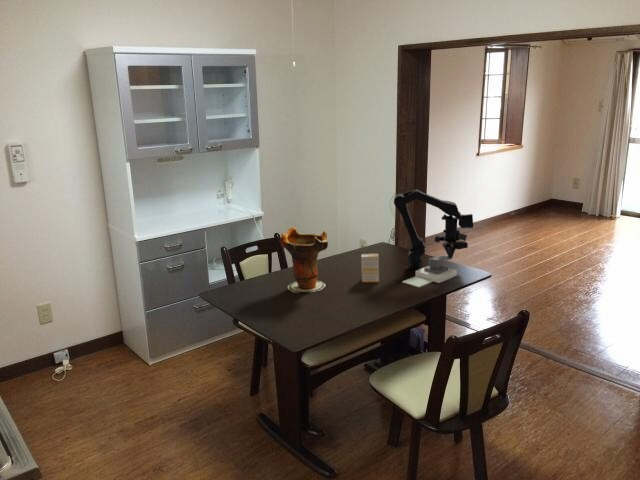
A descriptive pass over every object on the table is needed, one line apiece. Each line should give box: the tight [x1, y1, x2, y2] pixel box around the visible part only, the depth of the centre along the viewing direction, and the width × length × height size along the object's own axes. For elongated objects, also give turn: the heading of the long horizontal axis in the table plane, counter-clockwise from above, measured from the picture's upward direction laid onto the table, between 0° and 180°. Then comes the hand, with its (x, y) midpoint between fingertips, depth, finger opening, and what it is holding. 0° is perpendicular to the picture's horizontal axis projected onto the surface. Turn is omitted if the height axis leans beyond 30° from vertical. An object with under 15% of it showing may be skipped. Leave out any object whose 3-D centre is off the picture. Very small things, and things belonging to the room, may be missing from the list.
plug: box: [423, 256, 449, 274], centre depth 261 cm, size 8×8×9 cm
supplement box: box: [360, 253, 380, 283], centre depth 258 cm, size 8×5×13 cm, turn 84°
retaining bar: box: [427, 254, 452, 266], centre depth 269 cm, size 13×2×4 cm, turn 112°
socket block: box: [414, 265, 458, 284], centre depth 262 cm, size 14×14×3 cm
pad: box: [401, 276, 434, 289], centre depth 255 cm, size 10×10×1 cm
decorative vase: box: [279, 226, 329, 294], centre depth 253 cm, size 21×23×28 cm
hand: (450, 258), depth 270 cm, fingers closed
